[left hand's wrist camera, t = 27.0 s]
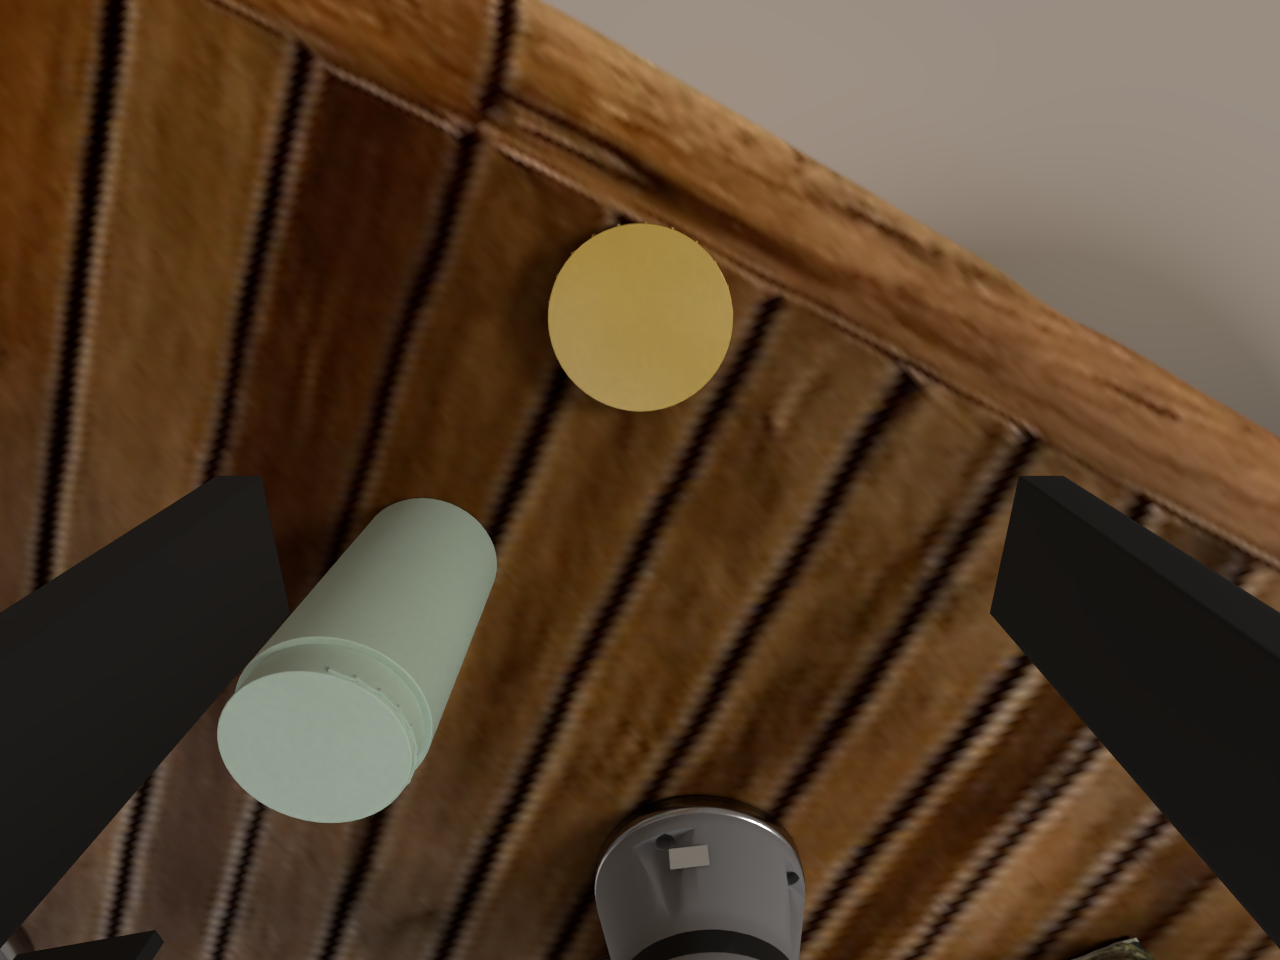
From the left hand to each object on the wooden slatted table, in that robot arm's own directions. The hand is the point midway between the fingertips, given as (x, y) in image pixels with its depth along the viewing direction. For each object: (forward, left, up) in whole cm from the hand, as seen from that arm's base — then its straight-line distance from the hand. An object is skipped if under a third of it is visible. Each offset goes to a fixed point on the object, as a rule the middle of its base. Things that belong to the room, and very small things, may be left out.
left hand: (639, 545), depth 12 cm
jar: (-18, +7, -27) cm, 33 cm away
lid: (0, 0, -25) cm, 25 cm away
